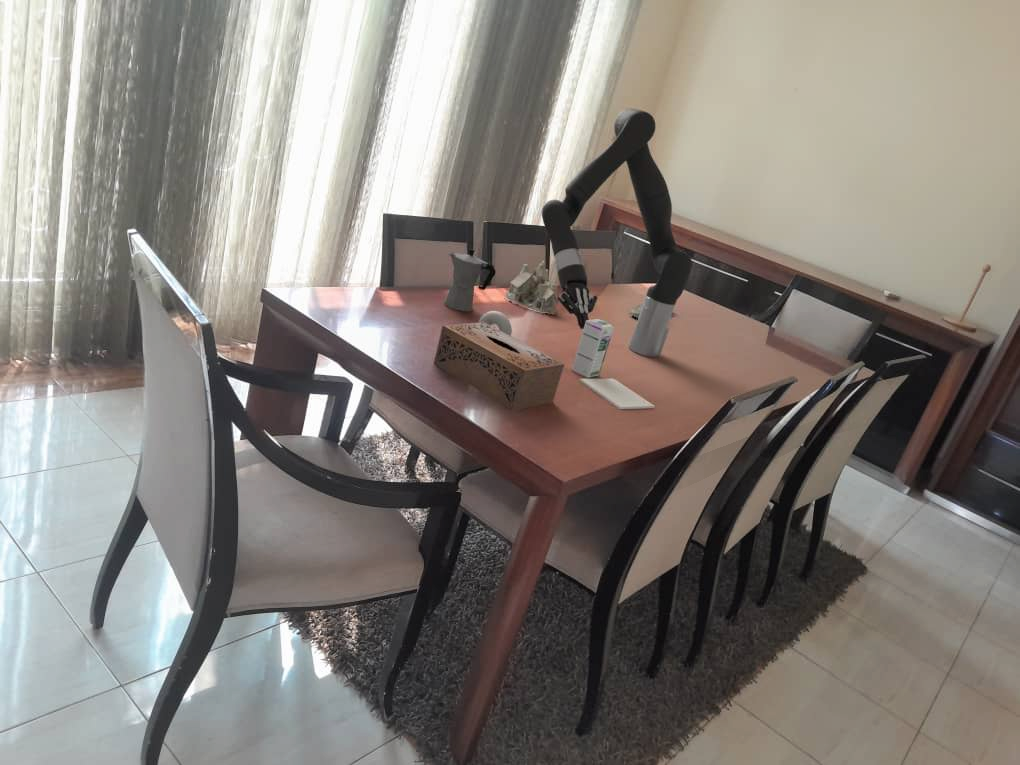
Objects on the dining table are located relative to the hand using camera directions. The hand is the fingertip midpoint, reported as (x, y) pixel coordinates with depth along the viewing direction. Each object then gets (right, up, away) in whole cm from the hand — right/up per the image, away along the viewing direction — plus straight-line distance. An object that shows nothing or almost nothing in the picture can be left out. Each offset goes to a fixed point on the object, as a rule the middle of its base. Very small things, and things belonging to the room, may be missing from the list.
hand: (585, 327), depth 198 cm
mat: (+7, -18, -9) cm, 21 cm away
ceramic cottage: (-14, +11, +51) cm, 54 cm away
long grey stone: (+34, +11, +86) cm, 93 cm away
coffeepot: (-35, +8, +27) cm, 45 cm away
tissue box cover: (-24, -15, -24) cm, 37 cm away
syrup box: (0, -12, 0) cm, 12 cm away
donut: (-25, -5, -1) cm, 26 cm away
